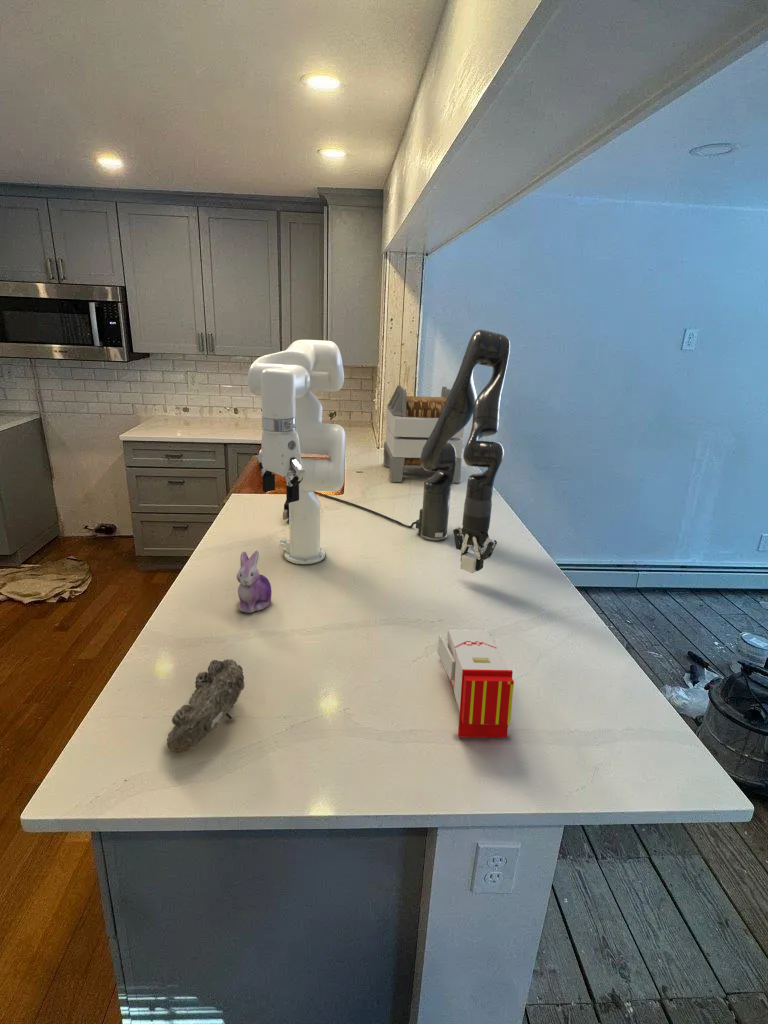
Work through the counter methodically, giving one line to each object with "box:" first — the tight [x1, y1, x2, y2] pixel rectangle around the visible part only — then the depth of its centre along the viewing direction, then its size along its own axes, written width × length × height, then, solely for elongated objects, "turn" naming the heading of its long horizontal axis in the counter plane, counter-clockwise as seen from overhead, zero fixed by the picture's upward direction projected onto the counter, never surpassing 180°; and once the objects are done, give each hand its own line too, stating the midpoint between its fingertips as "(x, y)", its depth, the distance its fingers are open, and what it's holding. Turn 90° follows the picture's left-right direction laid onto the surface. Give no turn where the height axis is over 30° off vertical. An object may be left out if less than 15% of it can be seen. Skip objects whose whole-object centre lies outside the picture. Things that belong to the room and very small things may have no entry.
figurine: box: [236, 550, 272, 614], centre depth 146 cm, size 9×10×15 cm
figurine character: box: [282, 500, 289, 524], centre depth 208 cm, size 7×8×15 cm
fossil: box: [166, 658, 245, 754], centre depth 106 cm, size 22×10×15 cm
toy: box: [437, 628, 515, 738], centre depth 117 cm, size 12×13×30 cm
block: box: [459, 550, 477, 574], centre depth 163 cm, size 4×5×4 cm
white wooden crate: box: [383, 384, 465, 484], centre depth 268 cm, size 34×33×41 cm
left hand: (280, 496), depth 134 cm, fingers open, 9 cm apart
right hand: (471, 566), depth 164 cm, fingers closed on block, 4 cm apart
